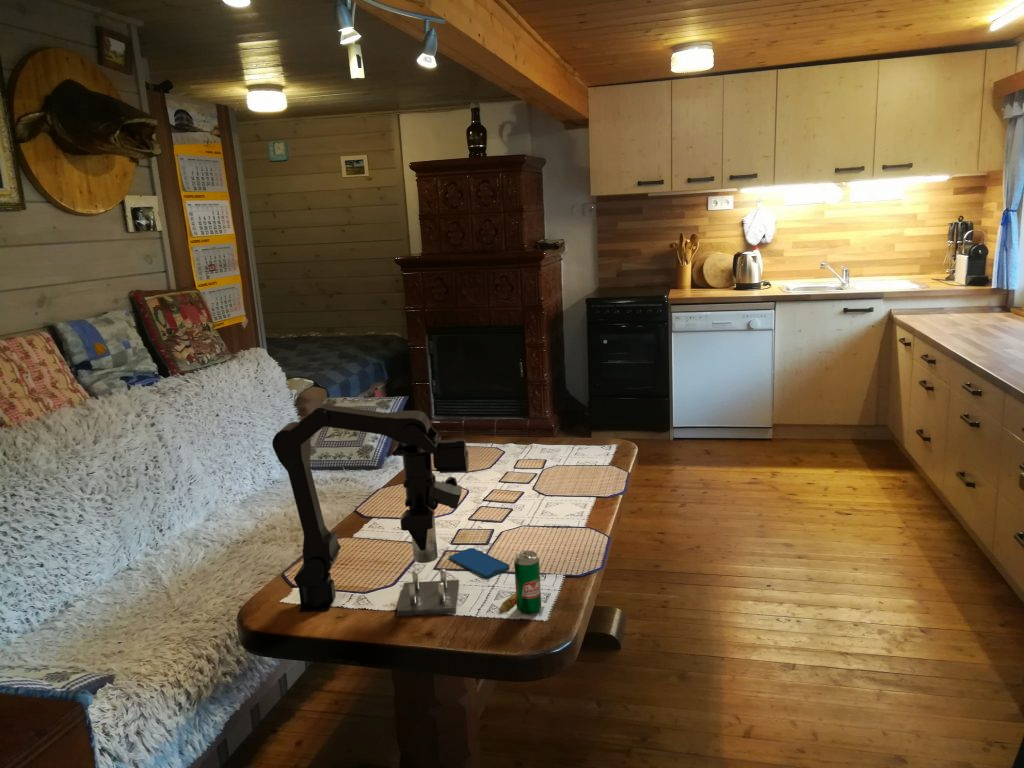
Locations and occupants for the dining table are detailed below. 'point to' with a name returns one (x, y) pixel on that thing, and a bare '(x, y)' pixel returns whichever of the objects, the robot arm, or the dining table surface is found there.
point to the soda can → (527, 582)
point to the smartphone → (479, 563)
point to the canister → (431, 547)
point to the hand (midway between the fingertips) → (424, 544)
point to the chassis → (428, 596)
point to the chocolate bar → (508, 603)
